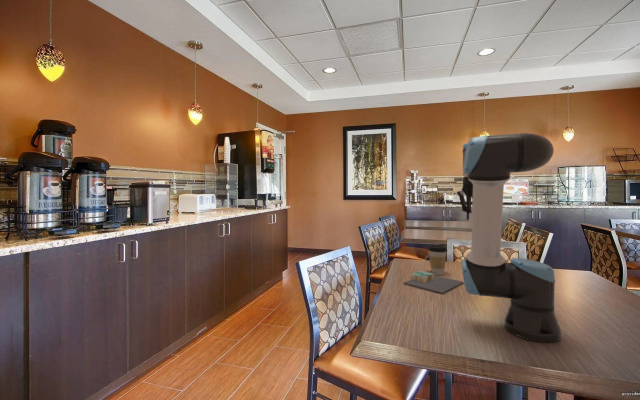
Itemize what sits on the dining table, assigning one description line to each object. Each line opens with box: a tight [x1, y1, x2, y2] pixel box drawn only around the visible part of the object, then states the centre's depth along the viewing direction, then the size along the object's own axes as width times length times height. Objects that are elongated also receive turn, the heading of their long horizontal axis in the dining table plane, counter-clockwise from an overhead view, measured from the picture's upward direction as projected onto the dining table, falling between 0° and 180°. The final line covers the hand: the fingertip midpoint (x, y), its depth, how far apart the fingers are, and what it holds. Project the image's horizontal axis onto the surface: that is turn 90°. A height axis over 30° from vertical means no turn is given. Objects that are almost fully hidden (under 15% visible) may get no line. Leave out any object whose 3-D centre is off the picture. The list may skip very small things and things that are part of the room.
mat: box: [403, 275, 464, 295], centre depth 148 cm, size 22×20×1 cm
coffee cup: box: [427, 244, 448, 276], centre depth 165 cm, size 10×10×15 cm
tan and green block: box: [409, 270, 434, 283], centre depth 153 cm, size 9×3×8 cm
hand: (471, 226), depth 139 cm, fingers closed
